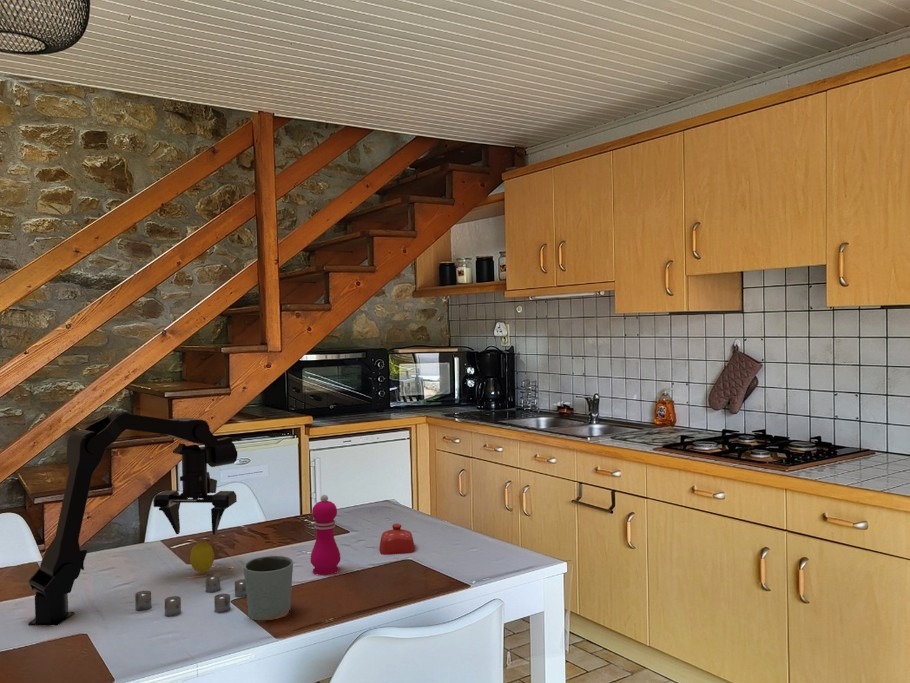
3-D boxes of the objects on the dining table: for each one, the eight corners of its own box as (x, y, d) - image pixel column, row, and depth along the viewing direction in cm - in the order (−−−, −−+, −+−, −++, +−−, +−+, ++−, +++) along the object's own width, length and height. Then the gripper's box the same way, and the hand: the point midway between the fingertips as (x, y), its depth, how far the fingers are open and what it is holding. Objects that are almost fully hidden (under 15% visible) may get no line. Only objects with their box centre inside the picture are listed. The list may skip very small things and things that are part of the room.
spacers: (228, 621, 158) (227, 602, 158) (125, 619, 160) (125, 600, 160) (256, 592, 175) (255, 574, 175) (163, 590, 177) (163, 573, 177)
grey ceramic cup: (274, 606, 166) (273, 552, 166) (304, 617, 160) (303, 561, 160) (234, 621, 158) (233, 564, 158) (264, 633, 152) (263, 574, 152)
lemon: (207, 577, 182) (206, 543, 183) (186, 577, 183) (185, 543, 184) (218, 570, 188) (217, 538, 188) (197, 570, 189) (197, 538, 189)
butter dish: (375, 550, 207) (375, 519, 207) (417, 548, 208) (417, 517, 208) (375, 563, 196) (374, 530, 195) (419, 561, 197) (419, 528, 196)
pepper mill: (304, 578, 184) (303, 496, 184) (323, 569, 191) (321, 490, 190) (328, 583, 181) (327, 499, 180) (346, 573, 187) (345, 493, 187)
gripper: (243, 463, 192) (245, 525, 192) (172, 463, 193) (174, 524, 194) (227, 472, 181) (228, 538, 181) (151, 472, 182) (153, 537, 183)
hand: (196, 534), depth 185 cm, fingers open, 9 cm apart
